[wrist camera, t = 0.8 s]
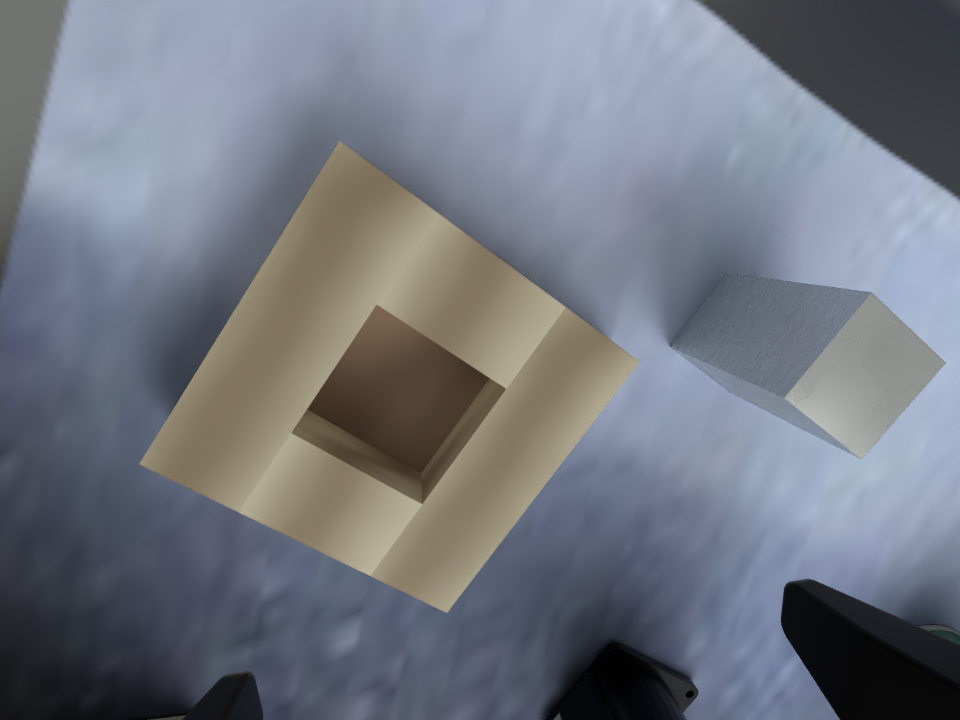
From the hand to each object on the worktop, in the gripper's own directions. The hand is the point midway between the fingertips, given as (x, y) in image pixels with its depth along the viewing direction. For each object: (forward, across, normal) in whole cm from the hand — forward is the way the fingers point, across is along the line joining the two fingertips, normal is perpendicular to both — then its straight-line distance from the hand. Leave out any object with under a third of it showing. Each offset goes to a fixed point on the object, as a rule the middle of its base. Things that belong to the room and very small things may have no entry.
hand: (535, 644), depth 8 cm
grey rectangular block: (+14, -12, -1) cm, 18 cm away
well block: (+14, +2, -1) cm, 14 cm away
